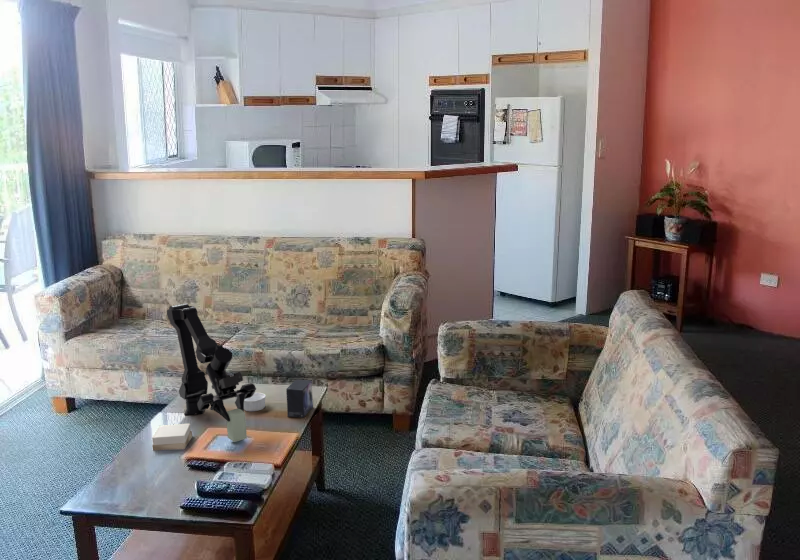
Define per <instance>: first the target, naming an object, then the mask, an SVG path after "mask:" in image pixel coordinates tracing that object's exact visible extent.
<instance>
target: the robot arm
mask: <svg viewBox="0 0 800 560" xmlns="http://www.w3.org/2000/svg"><path fill="white" fill-rule="evenodd" d="M166 317H167V318H168V320H169V323H170V325H171V326H172V327H173V328H174V329H175V330H176V334H177V338H178V344H179V349H180V354H181V359H182V363H183V370H184V371H183V374H182V376H181V385H180V387H179V389H178V394H179V397H180V398H182V399H183V400H184V401H185V407H186V409H185V411H184V415H185V416H189V415H190V416H191V415H202V414H204V411H205V410H208V409H209V410H210V411H214V412H216V413H217V414H218V415H220V416H221V417H222V418H223V419H224V420H226V422H227V421H228V422H230V418H229V415H228V413H227V411H228V410H227V409H226V407H225V405H224V400H228V399H232V398H235V402H234V404H235V406H236V409H238V408H239V409H241V410H242V411H244V412H245V410H244V400H245V399H247V398H250V397H252V396H253V394H254V392H256V390H257V387H256V385H255V384H254V383H252V382H250V383H246V384H242V385H241V387H240V389H237V386H239V385H240V383H242V382H243V381H244V378H243V375H242V372H241V371H237V372H235V373H233V375H230V374H228V373H227V368H228V367H229V365H230V363H231V361H232V360H233V359H232V358H233V352H232V351H231V350H230V349H229V348H226V347H224V346H223V344H221V345H219V344H218V343H217V341H216V340H215V339H213V338H212V337H210V336H209V335H208V332H207V331H206V329H205V327H204V324H203V322H202V321H201V319H200V317H199V315H198V310H197V308H196V307H195V305H189V303H187V302H186V303H180V304H175V305H170V306H169V308H168V309H167V310H166ZM194 343H195V345H196V347H194V346H195V345H194ZM198 362H199V363H200V364H202V365H203V364H207V365H206V367H205V372H204V371H203V370H201V369H200V368H199V365H198ZM206 374H207V375H208V378H209V380H210V383H211V388H212V390H213V391H214V392H215V394H213V393H212V392H210V393H208V387H209V383H208V381H209V380H208V379H207V378H206ZM236 389H237V390H236Z"/></svg>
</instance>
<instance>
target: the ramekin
mask: <svg viewBox="0 0 800 560" xmlns="http://www.w3.org/2000/svg"><path fill="white" fill-rule="evenodd" d="M266 397H267V396H266V394H265V393H263V392H256V391H255V392H254V394H253V396H252V397H250V398H247V399H245V400H244V411H246V412H257V411H261V410H263V409H264V408H265V407H266Z"/></svg>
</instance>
